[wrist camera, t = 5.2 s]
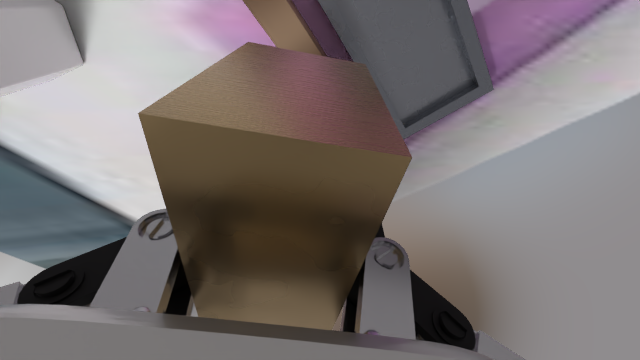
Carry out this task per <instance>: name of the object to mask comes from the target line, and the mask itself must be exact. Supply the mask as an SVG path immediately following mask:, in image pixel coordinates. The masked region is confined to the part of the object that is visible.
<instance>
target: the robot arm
mask: <svg viewBox="0 0 640 360" xmlns="http://www.w3.org/2000/svg"><path fill="white" fill-rule="evenodd" d="M0 360H525V359H524V358H522V357H521V356H519V355H518V354H516V353H515V352H513V351H512V350H510V349H508V348H507V347H505V346H504V345H502V344H501V343H499V342H498V341H496V340H494V339H493V338H492V337H490V336H489V335H487V334H485V333H484V332H482V331H481V330H480V331H479V332H476V331H475V330H473V328H472V326H471V324H470V322H469V321H468V320H467V318H466V317H465V316H464V315H463V314H462V313H461V312H460V311H459V310H458V309H457V308H456V307H454V306H453V305H452V304H451V303H450V302H448V301H447V300H446V299H445V298H443V297H442V296H441V295H440V294H439V293H438V292H436V291H435V290H434V289H433V288H432V287H430V286H429V285H428V284H427V283H425V282H424V281H423V280H422V279H421V278H419V277H418V276H417V275H416V274H415V273H414V272H412V271H411V270H410V265H409V258H408V255H407V253H406V252H405V250H404V248H403V247H401V245H400V244H398V243H397V242H395V241H393V240H391V239H389V238H385V236H384V232H383V228H382V223H381V225H380V228H379V230H378V232H377V234H376V236H375V238H374V240H373V243H372V245H371V247H370V249H369V251H368V253H367V255H366V258H365V260H364V262H363V264H362V266H361V268H360V271H359V273H358V275H357V277H356V279H355V281H354V283H353V286H352V288H351V290H350V292H349V294H348V296H347V298H346V301H345V303H344V306H343V313H342V320H341V328H340V331H333V330H324V329H314V328H304V327H295V326H285V325H275V324H265V323H255V322H245V321H235V320H225V319H215V318H205V317H198V314H197V311H196V307H195V304H194V301H193V297H192V294H191V290H190V287H189V284H188V280H187V277H186V273H185V270H184V267H183V263H182V260H181V256H180V253H179V250H178V246H177V243H176V240H175V236H174V233H173V229H172V226H171V223H170V219H169V216H168V212H167V209H161V210H156V211H153V212H150V213H148V214H146V215H144V216H142V217H141V218H140V219H138V220H137V221H136V223H135V224H134V225H133V227H132V229H131V231H130V232H129V234H128V236H127V237H125V238H123V239H120V240H118V241H115V242H113V243H110V244H108V245H105V246H103V247H100V248H97V249H95V250H92V251H90V252H87V253H85V254H82V255H80V256H77V257H74V258H72V259H69V260H67V261H64V262H62V263H59V264H57V265H54V266H52V267H50V268H48V269H46V270H44V271H42V272H40V273H39V274H37V275H36V276H34V277H33V278H32V279H31V280H30V281H29V282H28V283H27V284H24V285H23V284H21V283H20V282H16V283H13V284H10V285H6V286H3V287H0Z"/></svg>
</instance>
